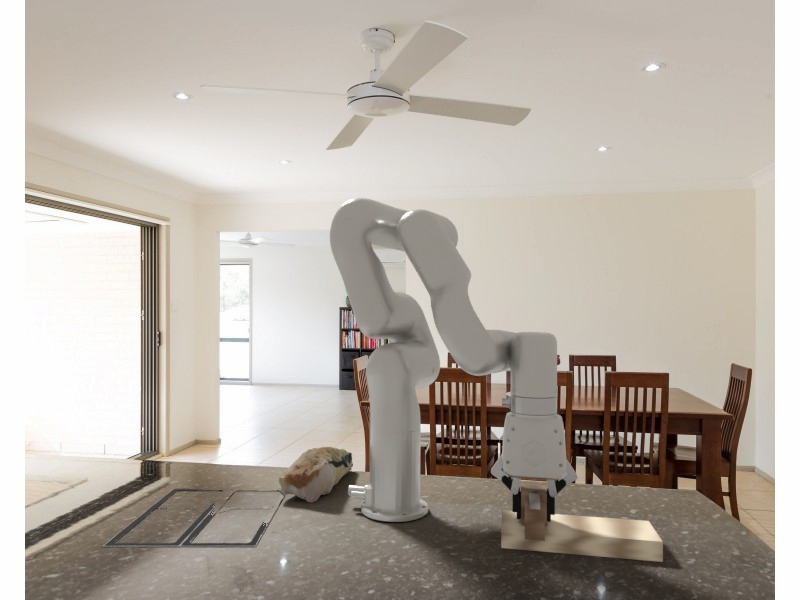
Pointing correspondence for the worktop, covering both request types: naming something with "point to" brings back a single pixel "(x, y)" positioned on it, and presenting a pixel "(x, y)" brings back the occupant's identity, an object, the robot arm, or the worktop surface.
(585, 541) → the birch board
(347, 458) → the mineral
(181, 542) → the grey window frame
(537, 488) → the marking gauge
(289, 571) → the worktop surface
